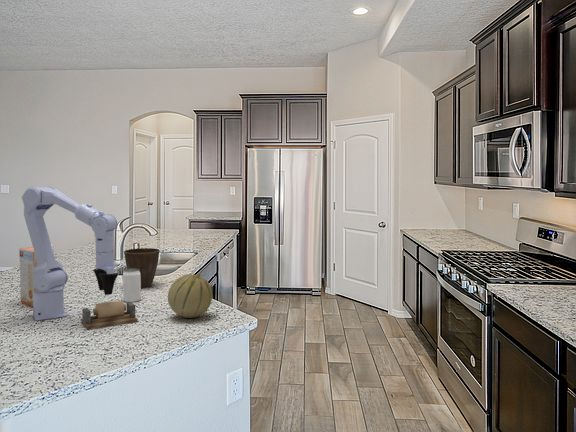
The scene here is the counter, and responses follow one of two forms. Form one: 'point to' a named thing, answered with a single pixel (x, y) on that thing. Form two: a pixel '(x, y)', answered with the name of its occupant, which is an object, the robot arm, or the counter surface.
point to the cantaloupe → (190, 296)
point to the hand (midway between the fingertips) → (105, 292)
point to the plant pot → (143, 263)
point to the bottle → (109, 309)
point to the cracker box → (27, 274)
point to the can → (131, 285)
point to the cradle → (108, 318)
